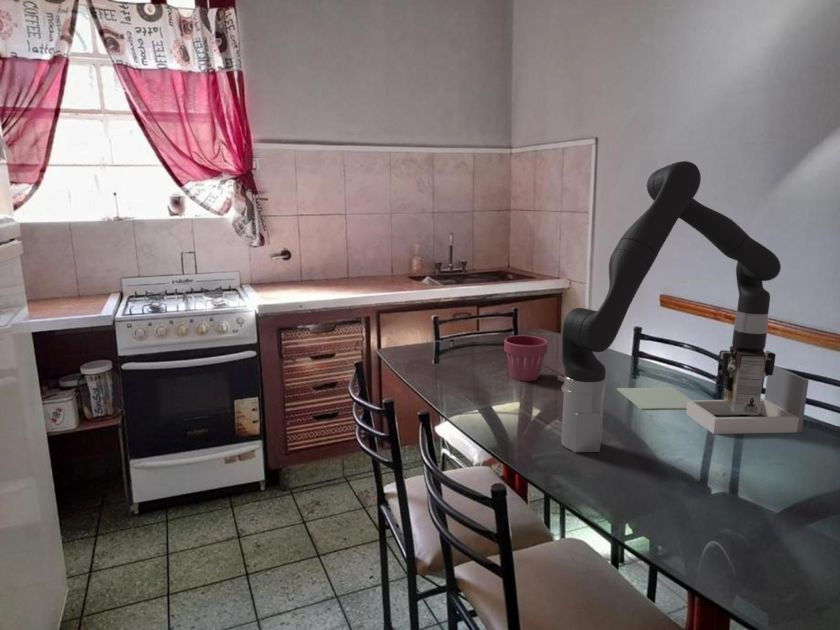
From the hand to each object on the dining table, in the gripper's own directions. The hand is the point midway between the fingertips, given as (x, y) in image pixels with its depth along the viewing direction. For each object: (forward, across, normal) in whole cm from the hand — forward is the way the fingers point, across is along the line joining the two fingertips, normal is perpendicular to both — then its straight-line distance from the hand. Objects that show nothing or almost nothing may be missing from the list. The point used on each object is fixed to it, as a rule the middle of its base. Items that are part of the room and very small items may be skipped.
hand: (742, 390), depth 155 cm
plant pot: (+10, -48, +43) cm, 65 cm away
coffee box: (+5, 0, 0) cm, 5 cm away
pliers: (+10, -35, +34) cm, 49 cm away
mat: (+9, -13, +20) cm, 26 cm away
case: (+9, 0, 0) cm, 9 cm away
